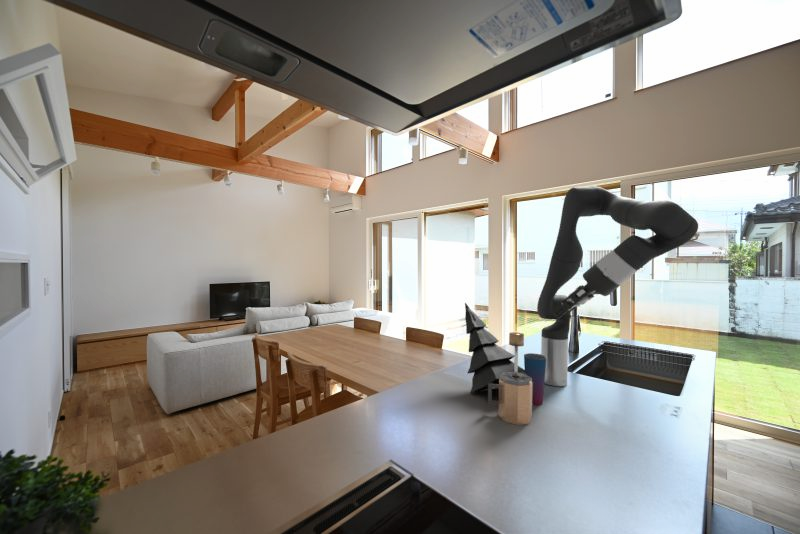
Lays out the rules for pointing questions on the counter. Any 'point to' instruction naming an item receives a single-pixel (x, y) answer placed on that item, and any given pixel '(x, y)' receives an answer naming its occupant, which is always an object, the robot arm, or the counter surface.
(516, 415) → the press pot
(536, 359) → the cup
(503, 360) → the decorative tree
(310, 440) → the counter surface
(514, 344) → the plunger
